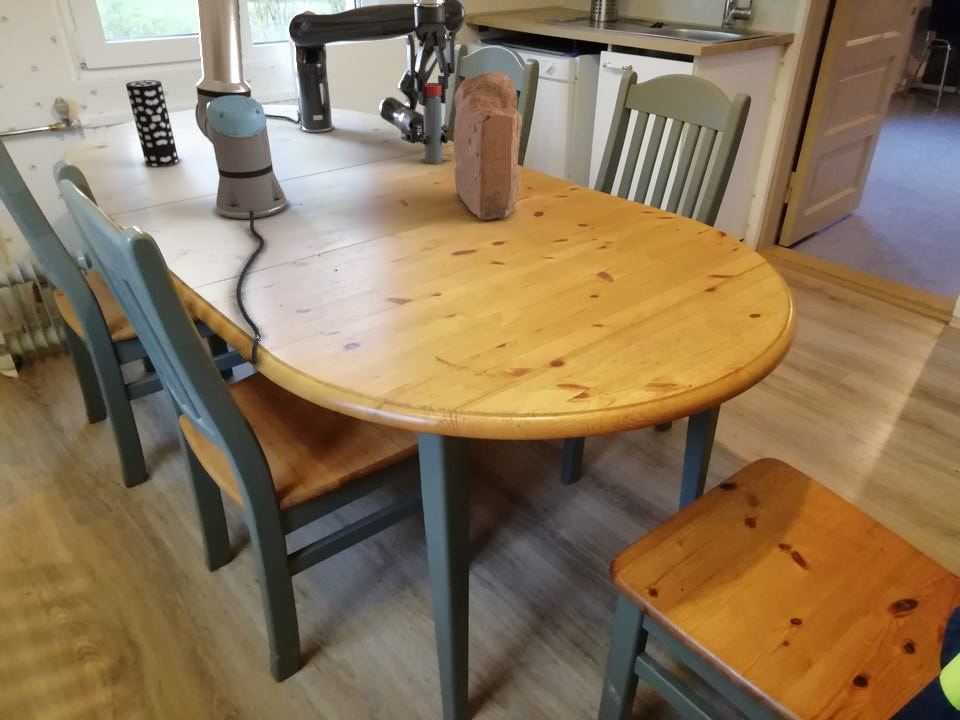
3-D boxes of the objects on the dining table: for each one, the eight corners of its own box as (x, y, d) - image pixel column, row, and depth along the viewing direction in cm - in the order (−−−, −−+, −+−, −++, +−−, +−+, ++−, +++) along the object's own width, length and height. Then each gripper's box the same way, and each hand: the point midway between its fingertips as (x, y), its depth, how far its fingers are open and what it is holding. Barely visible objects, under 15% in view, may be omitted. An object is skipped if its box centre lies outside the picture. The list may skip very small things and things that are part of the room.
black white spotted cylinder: (184, 157, 190) (167, 80, 179) (169, 166, 183) (151, 87, 172) (155, 156, 190) (136, 79, 179) (139, 165, 183) (119, 86, 172)
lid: (432, 91, 184) (432, 81, 182) (446, 94, 180) (446, 85, 179) (417, 94, 180) (417, 84, 179) (430, 97, 177) (430, 87, 176)
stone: (529, 217, 153) (533, 83, 139) (481, 223, 150) (480, 86, 136) (496, 190, 171) (497, 69, 157) (453, 195, 168) (450, 71, 154)
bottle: (445, 161, 190) (444, 87, 180) (434, 165, 187) (432, 90, 177) (432, 157, 193) (430, 84, 182) (421, 161, 189) (418, 87, 179)
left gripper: (401, 8, 162) (406, 110, 175) (469, 4, 170) (469, 103, 183) (389, 4, 168) (394, 104, 181) (455, 2, 176) (456, 97, 188)
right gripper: (390, 114, 193) (410, 129, 180) (437, 110, 198) (461, 123, 185) (391, 141, 197) (412, 157, 184) (438, 136, 202) (461, 151, 189)
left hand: (432, 103), depth 182 cm, fingers closed on lid, 5 cm apart
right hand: (436, 140), depth 184 cm, fingers closed on bottle, 5 cm apart
